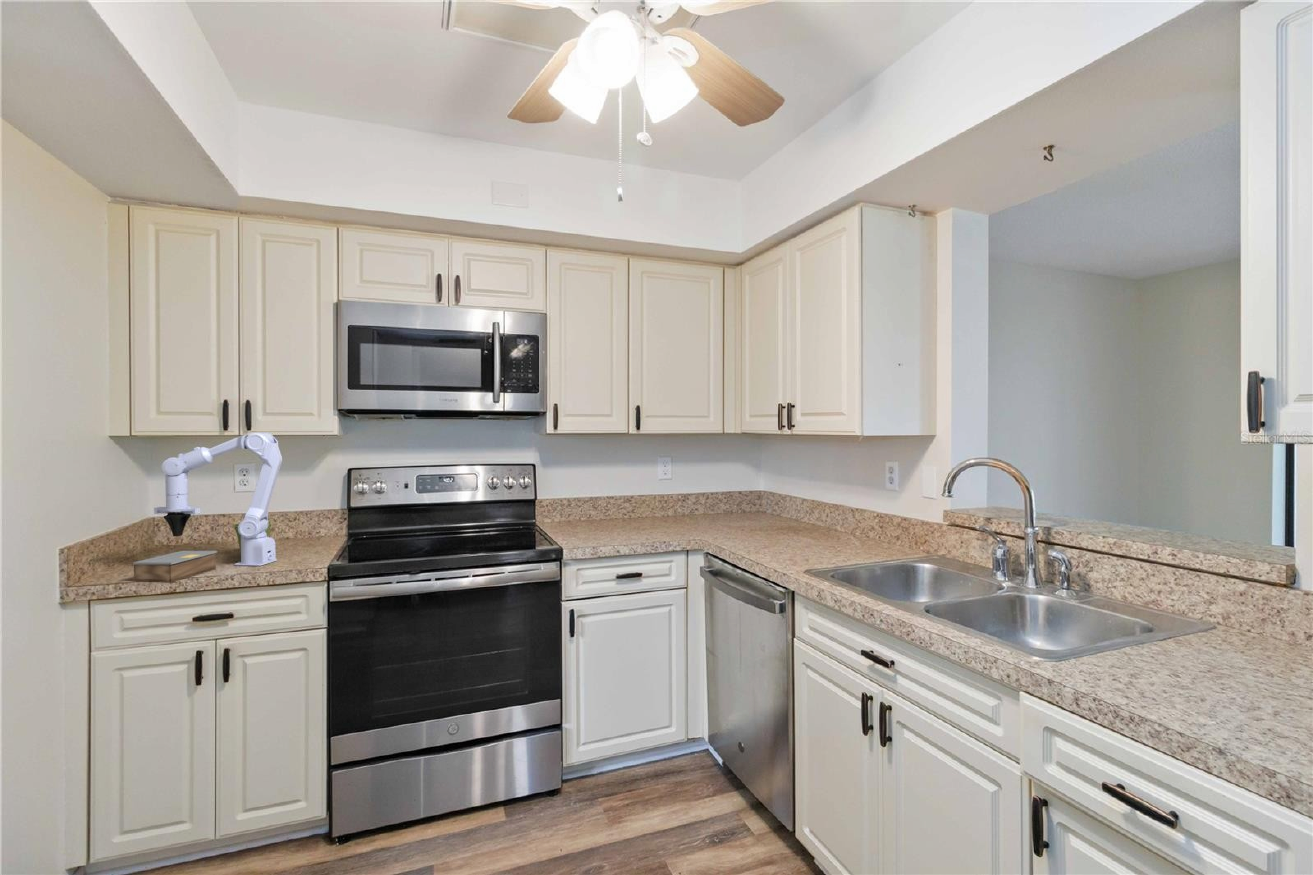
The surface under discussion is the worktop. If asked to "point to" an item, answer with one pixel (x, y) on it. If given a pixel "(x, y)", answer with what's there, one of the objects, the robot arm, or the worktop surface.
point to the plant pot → (240, 535)
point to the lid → (174, 558)
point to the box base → (174, 570)
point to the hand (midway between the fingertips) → (177, 535)
